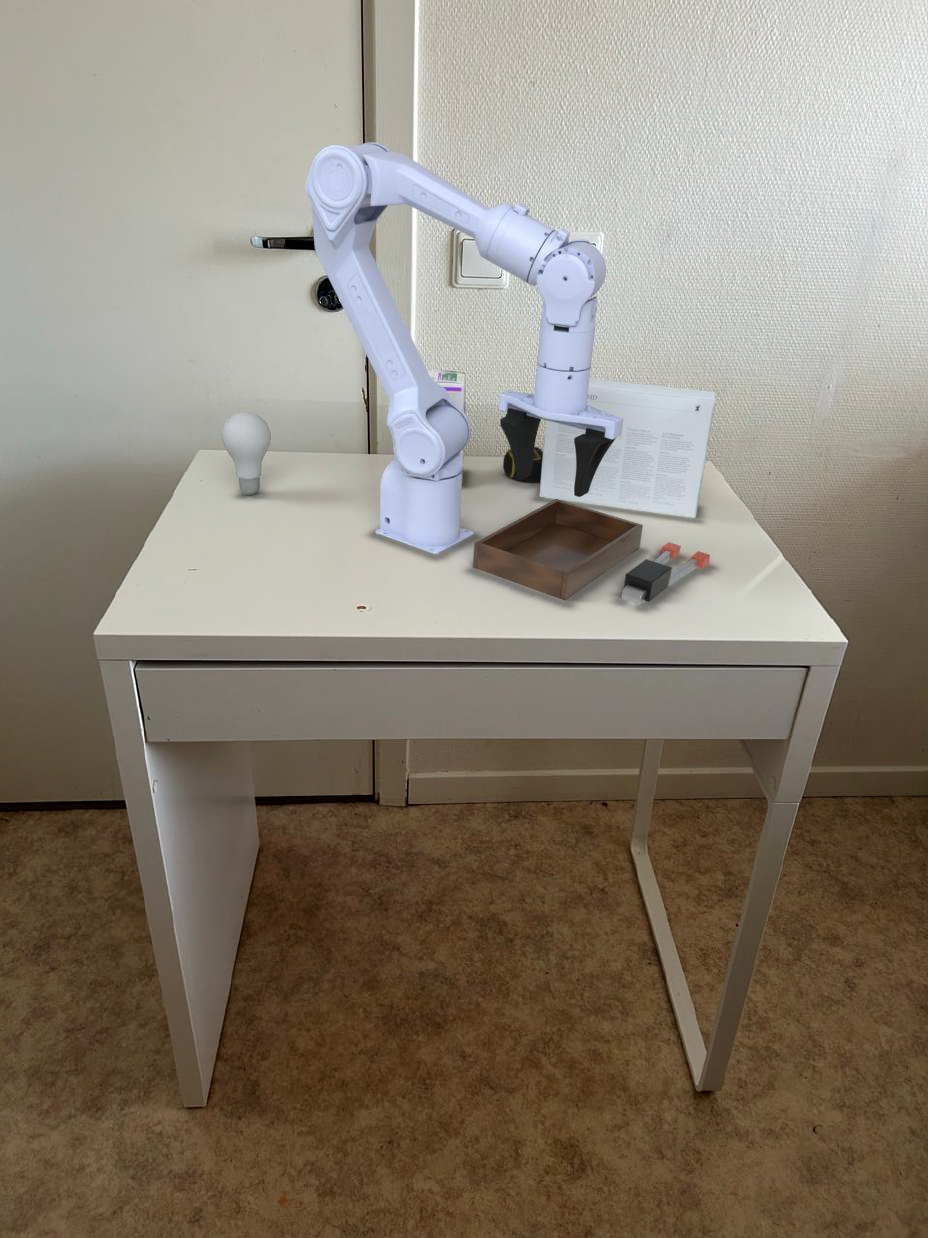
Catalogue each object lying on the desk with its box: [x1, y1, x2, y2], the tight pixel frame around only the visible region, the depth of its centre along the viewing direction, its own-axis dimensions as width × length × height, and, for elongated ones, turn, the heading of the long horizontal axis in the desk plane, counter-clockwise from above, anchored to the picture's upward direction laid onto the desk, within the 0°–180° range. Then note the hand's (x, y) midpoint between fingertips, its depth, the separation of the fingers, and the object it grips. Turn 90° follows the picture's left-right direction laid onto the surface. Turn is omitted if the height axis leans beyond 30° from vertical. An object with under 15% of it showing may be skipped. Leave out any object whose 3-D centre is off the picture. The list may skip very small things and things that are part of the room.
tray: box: [472, 499, 644, 601], centre depth 111 cm, size 12×18×4 cm
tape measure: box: [502, 446, 543, 483], centre depth 135 cm, size 7×7×4 cm
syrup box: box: [427, 369, 467, 481], centre depth 130 cm, size 6×6×14 cm
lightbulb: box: [221, 411, 272, 496], centre depth 123 cm, size 6×6×11 cm
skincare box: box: [538, 378, 717, 519], centre depth 125 cm, size 21×5×16 cm, turn 76°
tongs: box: [621, 541, 711, 606], centre depth 108 cm, size 5×15×3 cm, turn 144°
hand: (551, 485), depth 108 cm, fingers open, 7 cm apart
